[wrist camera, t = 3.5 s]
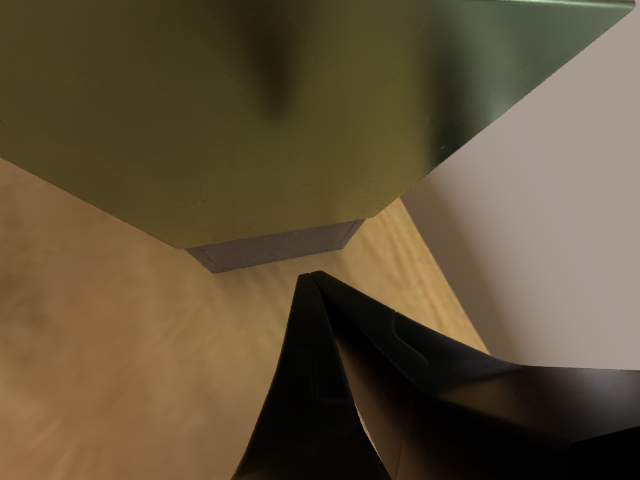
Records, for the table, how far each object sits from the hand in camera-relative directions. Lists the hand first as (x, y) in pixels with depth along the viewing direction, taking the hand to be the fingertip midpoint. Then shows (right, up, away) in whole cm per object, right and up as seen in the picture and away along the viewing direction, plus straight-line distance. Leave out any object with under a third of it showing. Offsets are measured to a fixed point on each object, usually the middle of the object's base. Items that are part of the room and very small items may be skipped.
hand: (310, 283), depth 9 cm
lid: (-1, +4, 0) cm, 4 cm away
